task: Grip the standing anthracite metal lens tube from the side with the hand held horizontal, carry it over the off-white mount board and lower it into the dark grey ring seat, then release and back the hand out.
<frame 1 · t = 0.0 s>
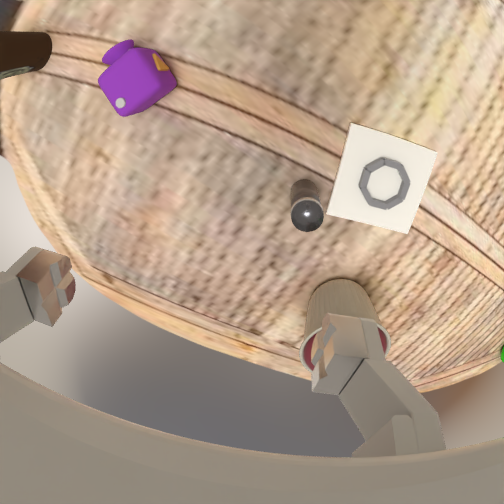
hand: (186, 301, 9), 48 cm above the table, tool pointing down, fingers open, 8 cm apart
olive oil: (38, 51, 43), on the table
mount board: (382, 180, 53), on the table
toy camera: (144, 74, 47), on the table
lens tube: (304, 192, 56), on the table
canister: (337, 297, 69), on the table
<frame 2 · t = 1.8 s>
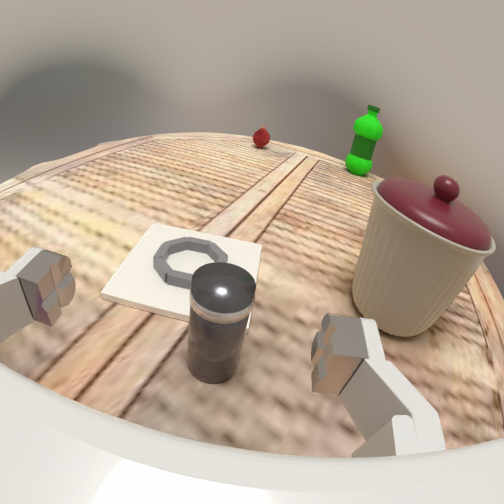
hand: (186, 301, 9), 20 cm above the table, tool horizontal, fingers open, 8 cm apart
mount board: (190, 271, 42), on the table
lens tube: (212, 363, 30), on the table
plastic bottle: (355, 173, 102), on the table
canister: (387, 311, 42), on the table
onion: (259, 148, 105), on the table
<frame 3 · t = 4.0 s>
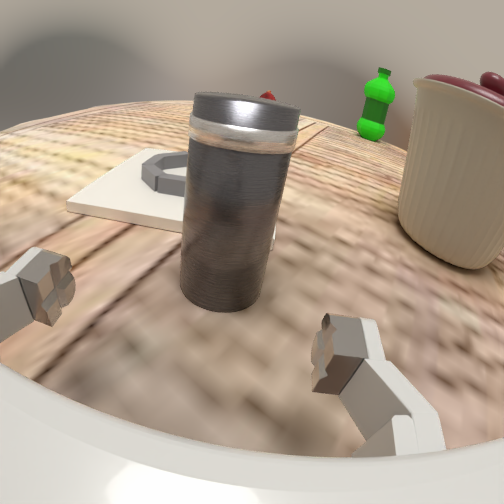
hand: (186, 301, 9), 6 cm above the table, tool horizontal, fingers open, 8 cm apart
mount board: (189, 187, 31), on the table
lens tube: (220, 283, 19), on the table
plastic bottle: (368, 139, 92), on the table
canister: (440, 244, 31), on the table
onion: (264, 113, 94), on the table
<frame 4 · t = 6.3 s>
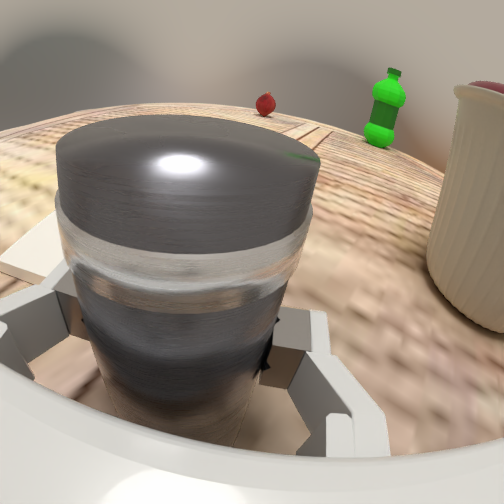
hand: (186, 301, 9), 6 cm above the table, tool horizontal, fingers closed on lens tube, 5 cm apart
mount board: (156, 230, 23), on the table
lens tube: (180, 416, 11), on the table, touching gripper
plastic bottle: (375, 145, 84), on the table
canister: (473, 296, 23), on the table
onion: (263, 117, 86), on the table
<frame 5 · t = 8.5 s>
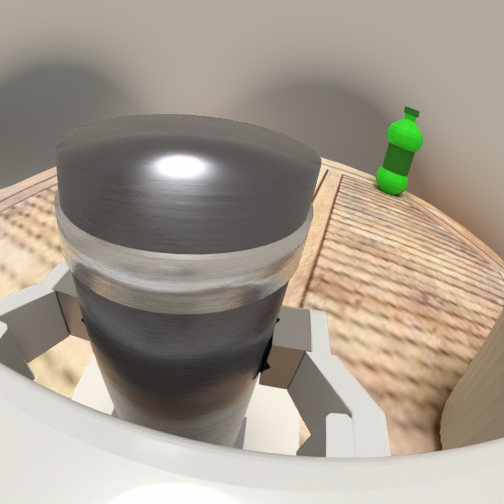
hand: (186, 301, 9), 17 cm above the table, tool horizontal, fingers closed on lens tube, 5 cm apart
mount board: (178, 437, 20), on the table
lens tube: (180, 416, 11), point 11 cm above the table, touching gripper
plastic bottle: (387, 191, 81), on the table
canister: (476, 442, 20), on the table
when the fingers open (8 cm above the table, at t = 10.9 s): lens tube stays where it is, resting on mount board.
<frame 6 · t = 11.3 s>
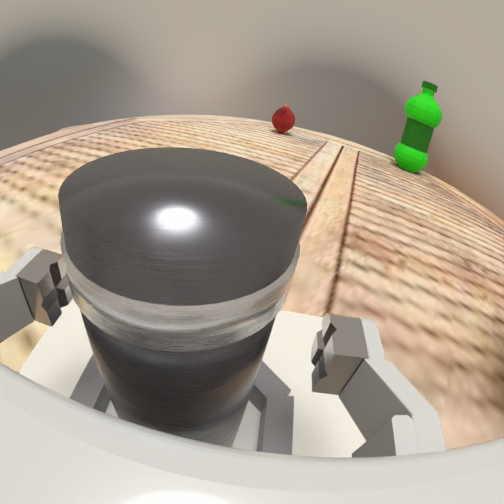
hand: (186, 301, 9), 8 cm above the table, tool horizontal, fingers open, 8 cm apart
mount board: (181, 432, 12), on the table
lens tube: (180, 424, 12), point 1 cm above the table, touching mount board
plastic bottle: (406, 169, 73), on the table
onion: (280, 134, 76), on the table
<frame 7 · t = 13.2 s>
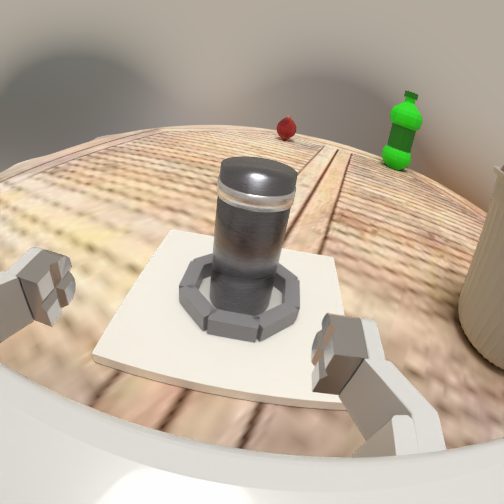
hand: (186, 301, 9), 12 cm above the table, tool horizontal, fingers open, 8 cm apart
mount board: (238, 305, 26), on the table
lens tube: (239, 296, 25), point 1 cm above the table, touching mount board
plastic bottle: (393, 167, 86), on the table
canister: (493, 338, 26), on the table
onion: (284, 140, 90), on the table
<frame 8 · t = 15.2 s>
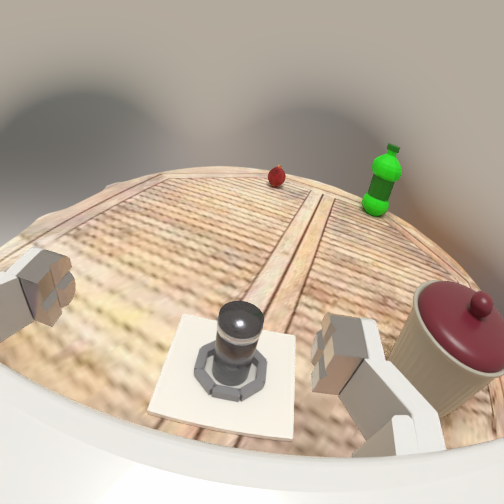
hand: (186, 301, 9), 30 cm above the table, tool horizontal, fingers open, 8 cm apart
mount board: (229, 375, 40), on the table
lens tube: (230, 371, 40), point 1 cm above the table, touching mount board
plastic bottle: (371, 213, 101), on the table
canister: (410, 395, 40), on the table
onion: (274, 187, 104), on the table
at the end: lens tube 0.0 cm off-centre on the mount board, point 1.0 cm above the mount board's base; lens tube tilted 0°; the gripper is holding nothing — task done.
